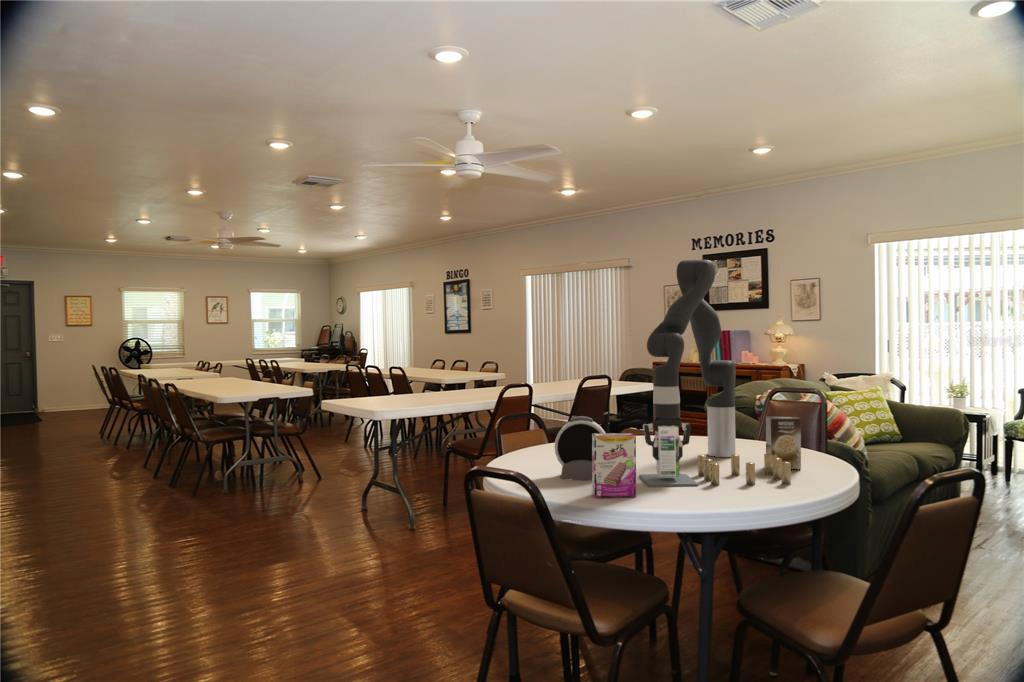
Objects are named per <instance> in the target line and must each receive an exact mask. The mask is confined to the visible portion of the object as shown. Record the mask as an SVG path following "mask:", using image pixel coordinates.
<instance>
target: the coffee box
mask: <svg viewBox="0 0 1024 682" xmlns="http://www.w3.org/2000/svg"><path fill="white" fill-rule="evenodd" d="M765 454H772V455H773V458H781V462H790V466H791V469H798V470H797V471H800V470H799V469H801V470H802V418H800V417H796V416H775V415H774V416H769V415H768V416H767V415H766V416H765Z"/></svg>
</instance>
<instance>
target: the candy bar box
mask: <svg viewBox="0 0 1024 682" xmlns="http://www.w3.org/2000/svg"><path fill="white" fill-rule="evenodd" d="M636 436H637V435H635V434H634V433H621V432H620V433H606V434H592V480H591V481H592V482H591V490H592V492H591V493H592V495H593V497H594V498H597V499H598V498H600V499H601V498H603V499H604V498H606V499H607V498H610V499H611V498H636V496H637V458H636V457H637V450H636V449H637V447H636V446H637V444H636V443H637V438H636Z"/></svg>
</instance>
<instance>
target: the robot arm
mask: <svg viewBox="0 0 1024 682" xmlns="http://www.w3.org/2000/svg"><path fill="white" fill-rule="evenodd" d="M675 273H676V279H677V284H678V287H679V290H680V293H681V296H679V298H677V299H675V301H674V302H672V304H671V305H670V307H669V308H668V310H667V312H666V314H665V316H664V318H663V321H661V322H660V323H659V325H658V326H656V328H655V329H653V331H652V332H651V333H650V334H649V337H648V339H647V341H646V350H647V352H648V354H649V355H650V356H651V357H655V358H667V362H666V363H664V364H661V365H657V366H655V367H654V368H653V391H652V393H653V394H652V395H653V396H652V398H653V399H652V400H653V402H652V403H653V404H652V405H653V407H652V409H653V420H652V422H651V423H648V424H647V423H643V424H642V430H643V434H644V441H645V444H647V446H651V449H652V450H651V451H652V455H651V456H652V458H653V459H654V460H655V461H656V460H659V456H658V447H657V446H658V435H657V433H658V426H662V427H664V426H678V430H679V431H680V429H681V428H682V430H683V436H682V437H683V438H682V440H681V438H680V436H679V461H680V460H681V458H683V453H684V452H683V447H684V446H686V445H689V443H690V438H691V433H692V432H691V431H692V424H691V423H688V422H685V423H683V422H682V421H681V396H680V387H679V384H680V383H679V373H680V372H679V370H680V366H681V361H682V358H683V355H684V351H685V341H684V338H683V337H682V335H684V333H685V332H686V330H687V327H688V325H689V323H690V327H691V332H692V335H693V338H694V341H695V345H696V350H697V354H698V359H699V366H700V372H701V377H702V381H703V382H704V385H705V386H708V387H717V388H719V387H720V388H721V387H722V388H723V391H722V392H720V393H718V394H716V395H713V396H710V397H708V398H707V400H706V401H707V403H706V404H707V406H706V407H707V408H706V409H707V455H708V456H710V457H714V456H715V457H716V458H731V455H732V454H736V452H737V451H736V450H737V449H736V402H735V401H736V378H737V377H736V375H737V374H736V373H737V371H736V365H735V362H734V361H733V360H727V359H726V360H725V359H724V360H722V359H721V360H719V359H718V360H717V359H715V360H714V359H712V357H711V356H712V353H713V351H714V349H715V347H716V346H717V344H718V342H719V341H720V339H721V336H722V325H721V322H720V317H719V315H718V313H717V312H716V311H715V309H714V308H713V307H712V306H711V305H710V304H709V303H708V302H707V301H706V300H705V296H706V295H707V293H708V292H709V290H711V288H712V286H713V284H714V282H715V279H716V267H715V264H714V263H713V261H711V260H709V259H685V260H680V261H679V263H677V266H676V272H675ZM652 428H653V429H654V430H655V434H654V436H653V440H651V439H652V437H651V432H652ZM736 455H737V454H736Z"/></svg>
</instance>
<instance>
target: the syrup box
mask: <svg viewBox="0 0 1024 682" xmlns="http://www.w3.org/2000/svg"><path fill="white" fill-rule="evenodd" d="M679 431H680V429H679V430H678V426H664V427H662V426H658V433H657V435H658V446H657V447H658V456H659V460H655V461H656V462H655V463H656V474H658V475H659V476H660V477H679V476H680V474H681V473H680V460H679V437H680V435H679Z"/></svg>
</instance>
